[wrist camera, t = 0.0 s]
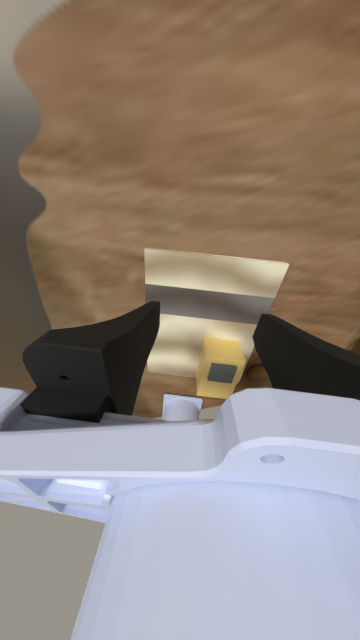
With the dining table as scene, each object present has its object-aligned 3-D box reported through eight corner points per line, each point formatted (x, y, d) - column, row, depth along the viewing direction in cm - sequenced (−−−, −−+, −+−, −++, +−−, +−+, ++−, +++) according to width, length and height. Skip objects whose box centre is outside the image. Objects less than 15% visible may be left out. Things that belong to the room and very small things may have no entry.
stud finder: (225, 377, 27) (230, 402, 23) (196, 373, 27) (196, 397, 23) (238, 340, 23) (247, 363, 19) (204, 336, 23) (205, 358, 19)
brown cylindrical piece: (264, 380, 28) (279, 414, 23) (243, 377, 29) (254, 410, 23) (271, 365, 27) (290, 399, 21) (250, 363, 27) (263, 396, 22)
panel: (236, 377, 29) (238, 383, 28) (149, 366, 29) (147, 371, 28) (284, 262, 18) (289, 264, 17) (147, 247, 19) (144, 248, 18)
